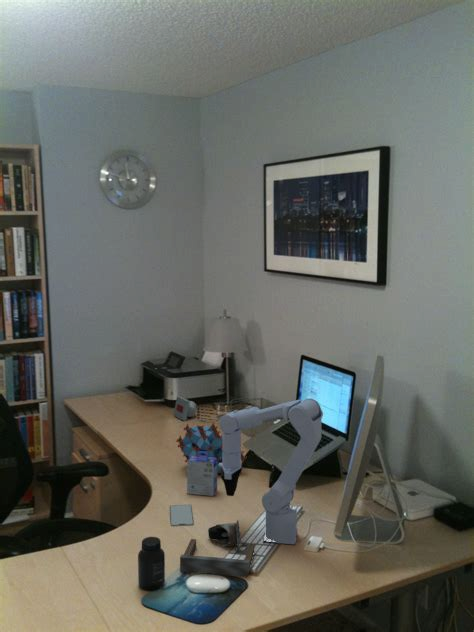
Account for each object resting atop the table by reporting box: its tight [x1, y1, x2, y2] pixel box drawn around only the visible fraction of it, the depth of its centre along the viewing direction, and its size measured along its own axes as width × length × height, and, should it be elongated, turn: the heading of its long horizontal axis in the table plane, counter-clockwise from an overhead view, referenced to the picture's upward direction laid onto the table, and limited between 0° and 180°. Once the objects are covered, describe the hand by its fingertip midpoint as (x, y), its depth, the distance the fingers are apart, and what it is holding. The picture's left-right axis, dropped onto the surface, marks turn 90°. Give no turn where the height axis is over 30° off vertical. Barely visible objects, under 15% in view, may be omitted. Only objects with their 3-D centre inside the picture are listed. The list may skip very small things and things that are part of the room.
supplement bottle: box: [137, 536, 166, 592], centre depth 167 cm, size 7×7×12 cm
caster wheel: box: [207, 519, 242, 549], centre depth 191 cm, size 7×11×10 cm
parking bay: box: [179, 538, 255, 578], centre depth 179 cm, size 18×14×4 cm
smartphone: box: [169, 504, 195, 527], centre depth 208 cm, size 7×1×15 cm
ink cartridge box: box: [186, 451, 218, 497], centre depth 225 cm, size 10×6×14 cm, turn 78°
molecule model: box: [175, 422, 248, 475], centre depth 246 cm, size 16×14×25 cm
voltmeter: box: [173, 396, 222, 423], centre depth 312 cm, size 27×11×10 cm, turn 69°
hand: (231, 492), depth 200 cm, fingers open, 3 cm apart
